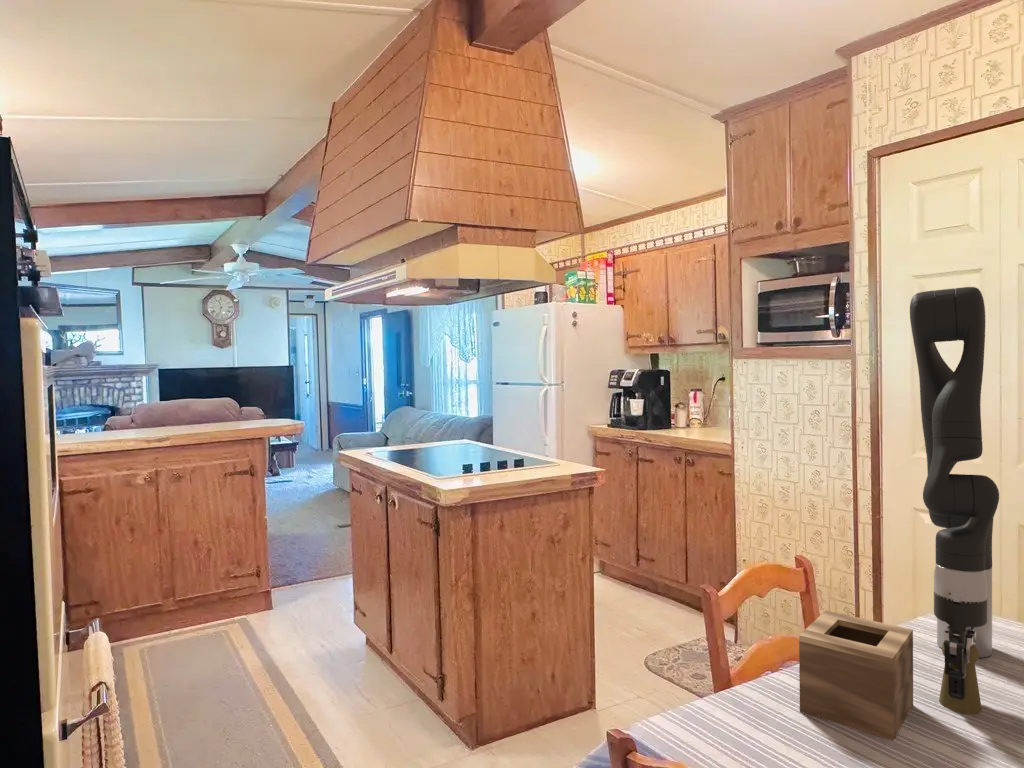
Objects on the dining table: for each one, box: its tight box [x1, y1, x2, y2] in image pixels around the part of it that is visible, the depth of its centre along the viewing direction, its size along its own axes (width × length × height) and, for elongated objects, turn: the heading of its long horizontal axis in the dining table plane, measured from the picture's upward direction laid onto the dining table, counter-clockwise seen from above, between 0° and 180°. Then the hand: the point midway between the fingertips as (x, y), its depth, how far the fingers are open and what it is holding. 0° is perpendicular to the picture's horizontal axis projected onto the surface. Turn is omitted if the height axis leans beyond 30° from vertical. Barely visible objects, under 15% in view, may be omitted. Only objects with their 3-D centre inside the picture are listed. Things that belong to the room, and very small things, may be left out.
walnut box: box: [798, 610, 914, 742], centre depth 114 cm, size 14×14×13 cm
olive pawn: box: [938, 641, 983, 715], centre depth 114 cm, size 6×6×11 cm
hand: (960, 689), depth 114 cm, fingers open, 6 cm apart
